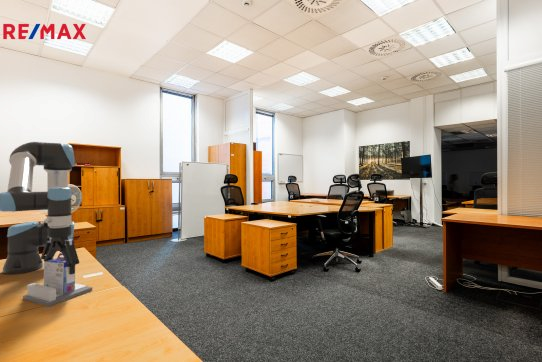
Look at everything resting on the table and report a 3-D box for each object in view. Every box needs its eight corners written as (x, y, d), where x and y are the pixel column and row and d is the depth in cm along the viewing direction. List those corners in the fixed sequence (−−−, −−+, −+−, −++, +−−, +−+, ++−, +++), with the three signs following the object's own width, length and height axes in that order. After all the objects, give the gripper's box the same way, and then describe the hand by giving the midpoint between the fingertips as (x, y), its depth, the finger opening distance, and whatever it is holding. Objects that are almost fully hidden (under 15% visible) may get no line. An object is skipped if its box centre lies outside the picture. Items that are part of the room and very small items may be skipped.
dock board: (22, 298, 106) (22, 285, 106) (67, 284, 121) (67, 272, 121) (48, 306, 100) (48, 292, 100) (92, 290, 114) (92, 277, 114)
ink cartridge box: (76, 289, 112) (76, 253, 112) (63, 294, 107) (63, 257, 107) (56, 287, 114) (56, 251, 114) (42, 292, 109) (42, 255, 109)
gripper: (30, 225, 112) (30, 277, 112) (69, 230, 102) (69, 288, 102) (51, 222, 119) (51, 272, 119) (89, 227, 109) (89, 281, 109)
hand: (59, 279), depth 111 cm, fingers open, 13 cm apart
